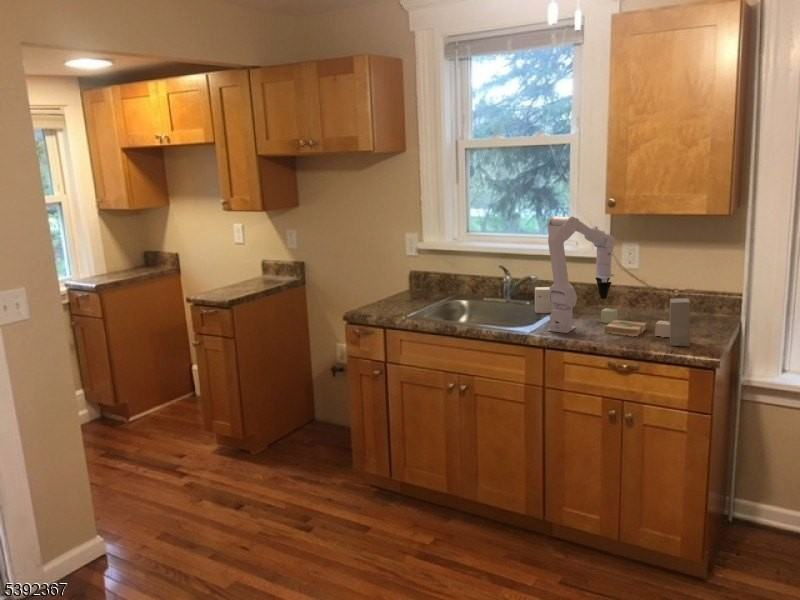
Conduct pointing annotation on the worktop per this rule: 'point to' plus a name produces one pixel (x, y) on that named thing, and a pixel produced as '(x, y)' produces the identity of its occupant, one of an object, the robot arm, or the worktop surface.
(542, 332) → the worktop surface
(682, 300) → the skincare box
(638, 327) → the birch base block
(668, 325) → the grey block
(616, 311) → the sage block
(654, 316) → the worktop surface
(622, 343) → the worktop surface
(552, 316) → the robot arm
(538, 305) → the small box
